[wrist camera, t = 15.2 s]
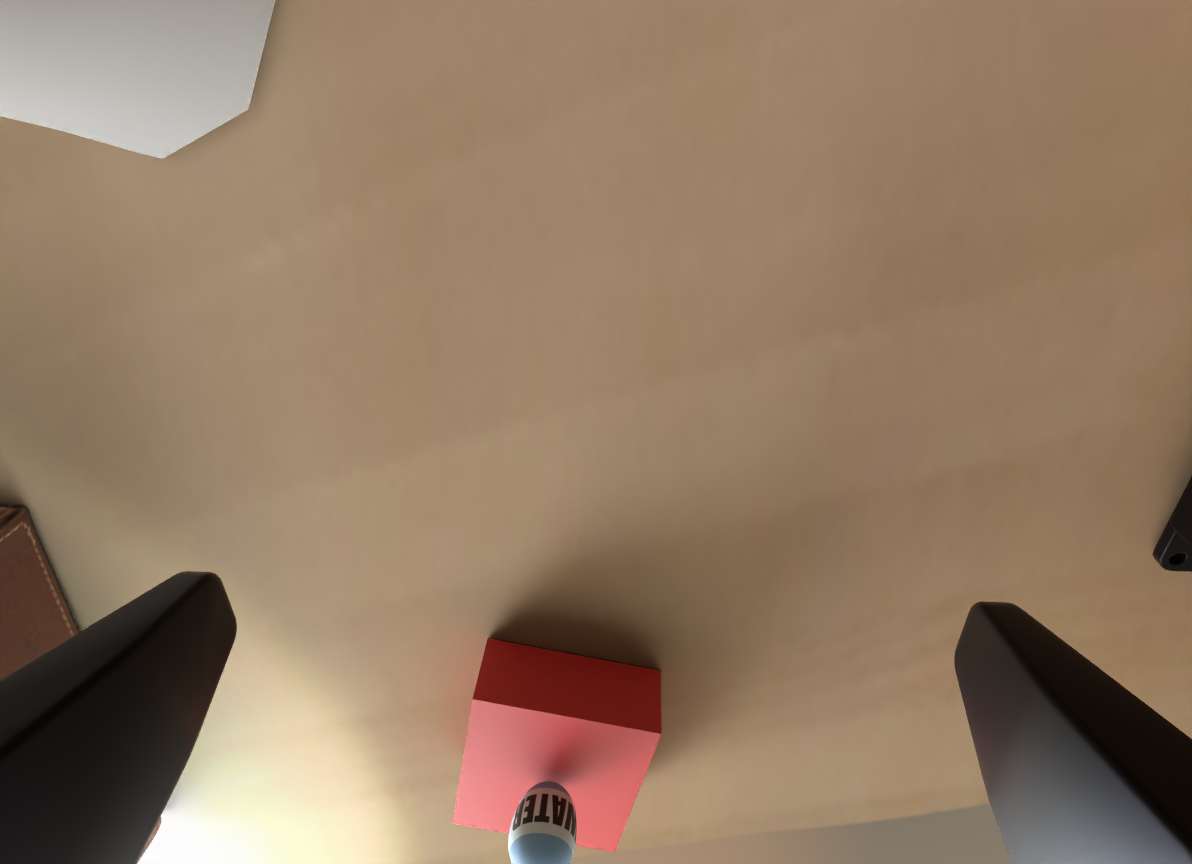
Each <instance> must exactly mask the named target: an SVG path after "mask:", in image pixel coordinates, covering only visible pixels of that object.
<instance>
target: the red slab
mask: <svg viewBox="0 0 1192 864" xmlns="http://www.w3.org/2000/svg"><path fill="white" fill-rule="evenodd" d="M660 736H661V671H659V670H654V669H649V668H643V667H638V666H633V665H627V664H622V663H617V662H611V661H606V660H601V659H595V658H590V657H585V656H579V655H574V654H569V653H564V652H558V651H553V650H548V649H542V648H537V647H532V646H526V645H521V644H516V643H510V642H505V641H500V640H494V639H489V638H488V640H487V644H486V648H485V652H484V656H483V660H482V664H481V668H480V672H479V676H478V680H477V684H476V688H475V692H474V696H473V700H472V706H471V712H470V718H469V724H468V730H467V737H466V743H465V749H464V755H463V761H462V767H461V773H460V779H459V785H458V791H457V797H456V803H455V810H454V816H453V822H452V824H458V825H463V826H469V827H475V828H480V829H486V830H492V831H498V832H503V833H509V855H510V859H511V862H512V864H570V863H571V861H572V858H573V854H574V850H575V845H577V846H583V847H589V848H594V849H600V850H606V851H612V852H615V850H616V848H617V845H618V843H619V840H620V838H621V835H622V832H623V830H624V827H625V825H626V822H627V820H628V817H629V815H630V812H631V810H632V807H633V805H634V802H635V800H636V797H637V794H638V792H639V789H640V787H641V784H642V782H643V779H644V777H645V774H646V772H647V769H648V767H649V764H650V761H651V759H652V756H653V754H654V751H655V749H656V746H657V744H658V741H659V739H660Z"/></svg>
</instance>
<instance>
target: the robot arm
mask: <svg viewBox="0 0 1192 864" xmlns="http://www.w3.org/2000/svg"><path fill="white" fill-rule="evenodd" d="M1174 554H1175V555H1174ZM1172 555H1173V556H1172ZM1153 556H1154V559H1155V560H1156V561H1157V562H1158V563H1159V564H1160V566H1161V567H1163V568H1164V569H1165V570H1170V571H1192V477H1191V479H1190V481H1189V483H1188V485H1187V487H1186V489H1185V491H1184V492H1183V494H1182V496H1181V498H1180V500H1179V502H1178V504H1177V506H1176V508H1175V510H1174V512H1173V514H1172V516H1171V518H1170V520H1169V522H1168V524H1167V526H1166V527H1165V529H1164V531H1163V533H1162V535H1161V537H1160V539H1159V541H1158V543H1157V545H1156V547H1155V549H1154V552H1153ZM236 630H237V624H236V618H235V615H234V612H233V610H232V607H231V604H230V602H229V599H228V596H227V594H226V591H225V589H224V586H223V583H222V581H221V579H220V578H219V577H218V576H217V575H216V574H215V573H211V572H191V571H186V572H181V573H178V574H176V575H174V576H172V577H171V578H169V579H167V580H166V581H164V582H162V583H161V584H159V585H157V586H156V587H154V588H152V589H151V590H149V591H147V592H146V593H144V594H142V595H141V596H139V597H137V598H136V599H134V600H132V601H131V602H129V603H127V604H126V605H124V606H122V607H121V608H119V609H117V610H116V611H114V612H113V613H111V614H109V615H108V616H106V617H104V618H103V619H101V620H99V621H98V622H96V623H94V624H93V625H91V626H89V627H88V628H86V629H84V630H83V631H81V632H79V633H78V634H76V635H74V636H73V637H71V638H69V639H68V640H66V641H64V642H63V643H61V644H59V645H58V646H56V647H54V648H53V649H51V650H49V651H48V652H46V653H44V654H43V655H41V656H39V657H38V658H36V659H34V660H33V661H31V662H29V663H28V664H26V665H24V666H23V667H21V668H19V669H18V670H16V671H14V672H13V673H11V674H9V675H8V676H6V677H4V678H3V679H1V680H0V864H137V862H138V860H139V858H140V856H141V854H142V852H143V850H144V848H145V846H146V844H147V842H148V840H149V838H150V836H151V834H152V832H153V830H154V828H155V826H156V824H157V822H158V820H159V818H160V816H161V814H162V812H163V810H164V808H165V806H166V804H167V802H168V800H169V798H170V796H171V794H172V792H173V790H174V788H175V786H176V784H177V782H178V780H179V778H180V776H181V774H182V771H183V769H184V767H185V765H186V763H187V761H188V759H189V757H190V754H191V752H192V750H193V747H194V745H195V742H196V740H197V738H198V735H199V732H200V730H201V727H202V725H203V722H204V719H205V717H206V714H207V711H208V709H209V706H210V704H211V701H212V698H213V696H214V693H215V690H216V688H217V685H218V682H219V680H220V677H221V675H222V672H223V669H224V667H225V664H226V661H227V659H228V656H229V654H230V651H231V648H232V646H233V643H234V640H235V636H236ZM955 670H956V675H957V679H958V682H959V686H960V690H961V694H962V698H963V702H964V706H965V710H966V714H967V718H968V722H969V726H970V730H971V734H972V738H973V742H974V746H975V749H976V753H977V757H978V761H979V765H980V769H981V773H982V777H983V781H984V784H985V788H986V791H987V795H988V798H989V801H990V804H991V807H992V809H993V813H994V816H995V819H996V822H997V824H998V827H999V830H1000V832H1001V835H1002V838H1003V840H1004V843H1005V846H1006V848H1007V851H1008V854H1009V857H1010V859H1011V862H1012V864H1192V739H1191V738H1189V737H1188V736H1187V735H1186V734H1184V733H1183V732H1182V731H1180V730H1179V729H1178V728H1176V727H1175V726H1174V725H1173V724H1171V723H1170V722H1169V721H1167V720H1166V719H1165V718H1163V717H1162V716H1161V715H1159V714H1158V713H1157V712H1156V711H1154V710H1153V709H1152V708H1150V707H1149V706H1148V705H1146V704H1145V703H1144V702H1142V701H1141V700H1140V699H1139V698H1137V697H1136V696H1135V695H1133V694H1132V693H1131V692H1129V691H1128V690H1127V689H1126V688H1124V687H1123V686H1122V685H1120V684H1119V683H1118V682H1116V681H1115V680H1114V679H1112V678H1111V677H1110V676H1109V675H1107V674H1106V673H1105V672H1103V671H1102V670H1101V669H1099V668H1098V667H1097V666H1095V665H1094V664H1093V663H1092V662H1090V661H1089V660H1088V659H1086V658H1085V657H1084V656H1082V655H1081V654H1080V653H1078V652H1077V651H1076V650H1075V649H1073V648H1072V647H1071V646H1069V645H1068V644H1067V643H1065V642H1064V641H1063V640H1062V639H1060V638H1059V637H1058V636H1056V635H1055V634H1054V633H1052V632H1051V631H1050V630H1048V629H1047V628H1046V627H1045V626H1043V625H1042V624H1041V623H1039V622H1038V621H1037V620H1035V619H1034V618H1033V617H1031V616H1030V615H1029V614H1028V613H1026V612H1025V611H1024V610H1022V609H1021V608H1019V607H1018V606H1016V605H1014V604H1011V603H1005V602H978V603H975V604H974V605H973V606H972V607H971V609H970V611H969V614H968V616H967V619H966V622H965V625H964V628H963V630H962V633H961V636H960V639H959V641H958V644H957V647H956V651H955Z"/></svg>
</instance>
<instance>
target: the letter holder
mask: <svg viewBox="0 0 1192 864" xmlns="http://www.w3.org/2000/svg"><path fill="white" fill-rule="evenodd" d="M78 633H79V631H78V628H77V626H76V625H75V622H74V619H73V617H72V615H71V612H70V610H69V608H68V605H67V602H66V600H65V598H64V595H63V593H62V590H61V588H60V586H59V583H58V581H57V579H56V577H55V574H54V572H53V570H52V567H51V565H50V563H49V561H48V559H47V556H46V554H45V552H44V550H43V548H42V546H41V543H40V540H39V538H38V536H37V533H36V531H35V529H34V526H33V523H32V521H31V517H30V514H29V511H28V509H27V507H26V506H24V505H14V506H8V505H0V680H1V679H3V678H4V677H6V676H8V675H9V674H11V673H13V672H14V671H16V670H18V669H19V668H21V667H23V666H24V665H26V664H28V663H29V662H31V661H33V660H34V659H36V658H38V657H39V656H41V655H43V654H44V653H46V652H48V651H49V650H51V649H53V648H54V647H56V646H58V645H59V644H61V643H63V642H64V641H66V640H68V639H69V638H71V637H73V636H74V635H76V634H78ZM160 824H161V817H160V818H159V820H158V822H157V824H156V826H155V828H154V830H153V832H152V834H151V836H150V838H149V840H148V842H147V844H146V846H145V848H144V850H143V852H142V854H141V856H140V858H141V857H142V855H143V854H144V852H145V851H146V849H147V848H148V846H149V844H150V843H151V841H152V840H153V838H154V836H155V835H156V833H157V831H158V829H159V827H160ZM140 858H139V860H140ZM139 860H138V861H139ZM137 863H138V862H137Z"/></svg>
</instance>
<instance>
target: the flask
mask: <svg viewBox="0 0 1192 864" xmlns="http://www.w3.org/2000/svg"><path fill="white" fill-rule="evenodd" d="M275 1H276V0H0V116H2V117H6V118H11V119H15V120H19V121H23V122H27V123H32V124H36V125H40V126H44V127H48V128H52V129H57V130H60V131H64V132H67V133H71V134H74V135H78V136H81V137H85V138H88V139H92V140H95V141H99V142H102V143H105V144H109V145H112V146H116V147H119V148H123V149H126V150H130V151H133V152H137V153H141V154H145V155H149V156H153V157H157V158H162V159H164V158H165V157H167V156H169V155H170V154H172V153H174V152H176V151H177V150H179V149H181V148H183V147H184V146H186V145H188V144H189V143H191V142H193V141H195V140H196V139H198V138H200V137H202V136H203V135H205V134H207V133H208V132H210V131H212V130H214V129H215V128H217V127H219V126H221V125H222V124H224V123H226V122H227V121H229V120H231V119H233V118H234V117H236V116H238V115H240V114H241V113H243V112H245V111H246V110H248V109H249V105H250V101H251V97H252V93H253V89H254V85H255V81H256V77H257V73H258V69H259V65H260V61H261V57H262V53H263V49H264V45H265V41H266V37H267V33H268V29H269V25H270V21H271V17H272V13H273V9H274V5H275Z"/></svg>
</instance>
